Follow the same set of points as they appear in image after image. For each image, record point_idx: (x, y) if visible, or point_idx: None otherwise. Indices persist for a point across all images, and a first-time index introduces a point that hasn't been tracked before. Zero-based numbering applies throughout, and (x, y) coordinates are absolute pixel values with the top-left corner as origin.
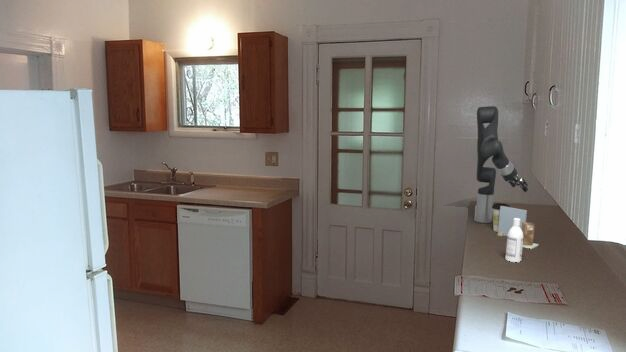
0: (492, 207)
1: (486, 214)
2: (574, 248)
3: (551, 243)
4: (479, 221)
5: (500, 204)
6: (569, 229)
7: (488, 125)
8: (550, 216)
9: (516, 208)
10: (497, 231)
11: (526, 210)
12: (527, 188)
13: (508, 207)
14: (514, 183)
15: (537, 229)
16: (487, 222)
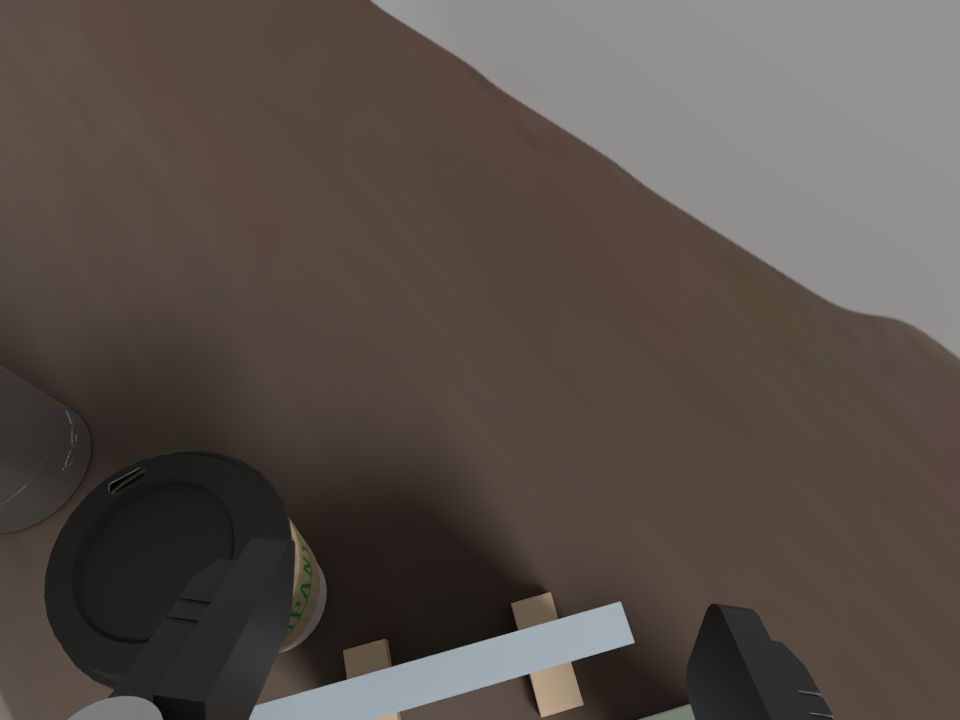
0: (84, 670)
1: (10, 477)
2: (900, 465)
3: (742, 511)
4: (6, 530)
5: (117, 505)
6: (521, 122)
7: None
8: (278, 2)
9: (470, 649)
10: (288, 649)
11: (624, 619)
12: (765, 634)
13: (365, 716)
14: (262, 606)
15: (422, 284)
16: (74, 485)
